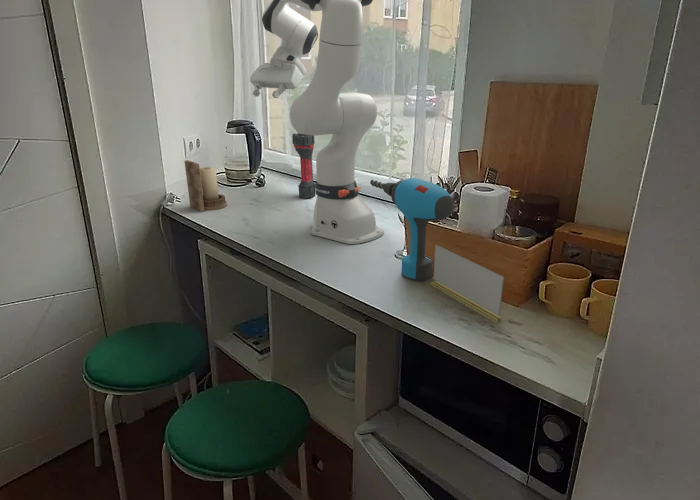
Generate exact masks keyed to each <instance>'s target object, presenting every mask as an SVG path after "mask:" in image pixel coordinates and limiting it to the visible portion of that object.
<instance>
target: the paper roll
mask: <svg viewBox="0 0 700 500" xmlns="http://www.w3.org/2000/svg"><path fill="white" fill-rule="evenodd" d="M200 176H201V185H202V193H203V200H205V201H211V200H218V199H219V194H220V193H219V185H218V178H217V168H216V167H215V166H206V167H201V168H200Z"/></svg>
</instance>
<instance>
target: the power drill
mask: <svg viewBox="0 0 700 500" xmlns="http://www.w3.org/2000/svg"><path fill="white" fill-rule="evenodd" d="M369 183H370V185H371V186H372V187H375V188H379V189H380V190H383V192H384V193H385V194H386V195H388V196H389V197H391V200H392V203H393V204H394V205H396V208H397V209H398V211H400V212H401V214H403V217H404V218H405V219H406V220H407V221H408V223H409V227H410V229H409V230H410V233H409V234H410V242H409V243H410V245H409V254H407V255H404V256H403V257H402V259H401V276H402V277H403V278H404V279H406V280H408V281H410V282H411V281H412V282H424V281H427V280H429V279H430V278H432V276H433V259H432V258H431V259H432V260H431V259H429V258H427V257H425V255H426V244H427V243H426V241H427V232H426V226H427V227H428V225H427V223H428V224H429V222H439V221H443V220H445V219H447V218H449V217H450V216H451V215H452V214H453V212H454V209H455V202H454V198H453V197H452V196H451V194H450V193H449V192H448V191H447V190H446V189H445V188H443V187H442V186H440V185H439V184H436V183H434V182H431V181H427V180H424V179H421V178H416V177H410V178H406V179H401V180H399V181H397V182H386V183H385V182H383V183H382V181H378V179H377V180H374V179H371V180H370V181H369Z"/></svg>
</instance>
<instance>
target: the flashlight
mask: <svg viewBox="0 0 700 500" xmlns="http://www.w3.org/2000/svg"><path fill="white" fill-rule="evenodd" d="M291 137H292V145H293V147H294V149H295V151H296V153H297V154H298V155H299V159H300V175H301V176H300V177H301V178H300V183H299V184H298V185H297V187H298V194H299V195H298V196H299V198H301V199H303V200H307V199H308V198H309V199H313V198H314V197H316V191H315V182H314V174H313V173H314V172H313V171H314V170H313V153H314V148H315V144H316V142H315V136H313V135H304V134H299V133H298V132H297V133H295V132H294V133H292V136H291Z"/></svg>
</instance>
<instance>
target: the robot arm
mask: <svg viewBox="0 0 700 500" xmlns="http://www.w3.org/2000/svg"><path fill="white" fill-rule="evenodd" d="M373 1H374V0H272V1H271V2H270V3H269V4H268V5H267V6H266V7H265V8H264V11H263V12H262V17H261V22H262V25H263V27H264V30H266V31H267V32H269V33H271V34H273V35H275V36H277V37H278V38H280V39H282V41H281V44H280V46H279V47H277V49H276V50H275V51H274V53H273V55H272V57H271V58H270V60H269V63H268V62H265V63H264V64H259V66H258V67H257V68H256V69H255V70H254V71H253V72H252V74H251V75H250V77H249V82H250V83H251V84H252V85H253V87H254V89H253V91H252V95H253V96H254V97H259V96H260V94H261V92H260V90H261V89H262V88H265V89H276V90H274V91H273V93H271V95H272V97H273V99H278V98H279V97H280V96H281V95H282V94H284V92H285V91H286V90H295V89H297V88H298V87H299V85H300V83H301V81H303V77H304V75H305V74H306V73H307V69H306V67H305V66H304V64H303V63H302V61H301V60H302V58H304V56H306V55H307V54H309V53H311V50H312V48H313V47H314V46H315V44H316V42H317V40H318V37H319V40H318V50H317V51H318V52H317V58H316V59H317V61H316V66H315V70H314V74H313V77H312V79H311V81H310V83H309V84H308V86H307V87H306V89H305V90H304V91H303V92H302V93H301V95H299V96H298V97H296V98H295V99H294V100H293V102H292V104H291V106H290V109H289V122H290V124H291V125H292V128H293V129H294V130H295V132H296V133H297V134H298V133H299V134H304V135H313V136H314V137H316V136H325V135H326V136H329V135H331V139H330V141H328V143H327V144H326V146H324V147H323V148H322V149H320V150H319V151H318V153H317V155H316V158H315V166H316V167H315V168H316V169H315V170H316V181H315V182H314V184H315V196H316V199H315V203H314V207H313V219H312V220H313V222H312V223H313V224H312V228H311V229H310V234H311V235H314V236H317V237H321V238H324V239H328V240H333V241H336V242H340V243H342V244H347V245H358V244H361V243H362V244H363V243H366V242H370V241H373V240H376V239H378V238H380V237H382V236H383V235H384V233H385V231H384V229H382V228H381V227H379V226H377V224H376V223H377V222H376V215H375V213H374V211H373V210H372V208H371V207H369V206H368V205H367V203H366V202H365V201H364V200H363V199H362V198H361V196H360V191H362V189H361V188H362V186H358V185H357V182H356V180H355V171H356V170H355V167H356V156H357V155H356V154H357V150H358V147H359V145H360V143H361V141H362V140H363V139H362V138H363V137H364V135H365V134H366V133H367V132H368V131H369V130H370V128H371V127H373V125H374V124H375V123H376V121H377V116H378V107H377V104H376V101H375V100H374V98H373V97H372V96H371V95H370V94H368V93H362V92H356V91H348V92H346V91H345V92H342V90H343V88H344V87H345V86H346V85H347V84H348V83H349V82H351V81H353V80H354V79H355V78H356V77H357V75H358V73H359V71H360V62H361V55H362V48H363V47H362V45H363V32H364V31H363V30H364V17H363V7H366V6H369V5H371V4H372V2H373ZM288 3H290V4H293V5H296V6H297V7H300V8H302V9H305V10H307V11H311V12H320V11H321V19H320V20H321V23H320V29H319V31H318V28H317V26H316V24H315V23H314V22H313V21H311V20H309V19H308V18H306V17H305V16H303V15H302V14H300V13H299V12H297V11H296V10H295V9H293V8H291V7H290V6H288V5H287V4H288ZM318 32H319V33H318Z"/></svg>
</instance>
